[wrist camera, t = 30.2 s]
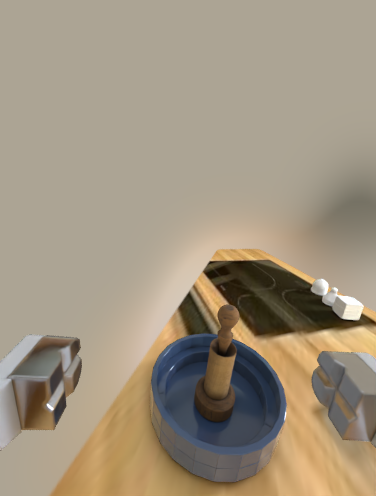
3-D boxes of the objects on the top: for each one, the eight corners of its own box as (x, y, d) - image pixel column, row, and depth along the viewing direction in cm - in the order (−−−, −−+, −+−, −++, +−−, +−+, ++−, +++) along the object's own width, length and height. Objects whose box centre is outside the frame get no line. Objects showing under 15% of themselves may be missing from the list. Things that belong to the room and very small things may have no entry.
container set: (358, 321, 65) (364, 305, 64) (340, 320, 65) (346, 303, 64) (321, 289, 84) (325, 276, 83) (308, 288, 84) (311, 274, 83)
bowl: (139, 485, 27) (140, 452, 25) (157, 354, 46) (158, 330, 44) (304, 488, 28) (317, 457, 26) (253, 359, 47) (258, 336, 46)
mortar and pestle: (239, 420, 34) (262, 321, 29) (199, 425, 33) (214, 322, 27) (225, 382, 40) (241, 294, 35) (190, 385, 39) (201, 295, 34)
